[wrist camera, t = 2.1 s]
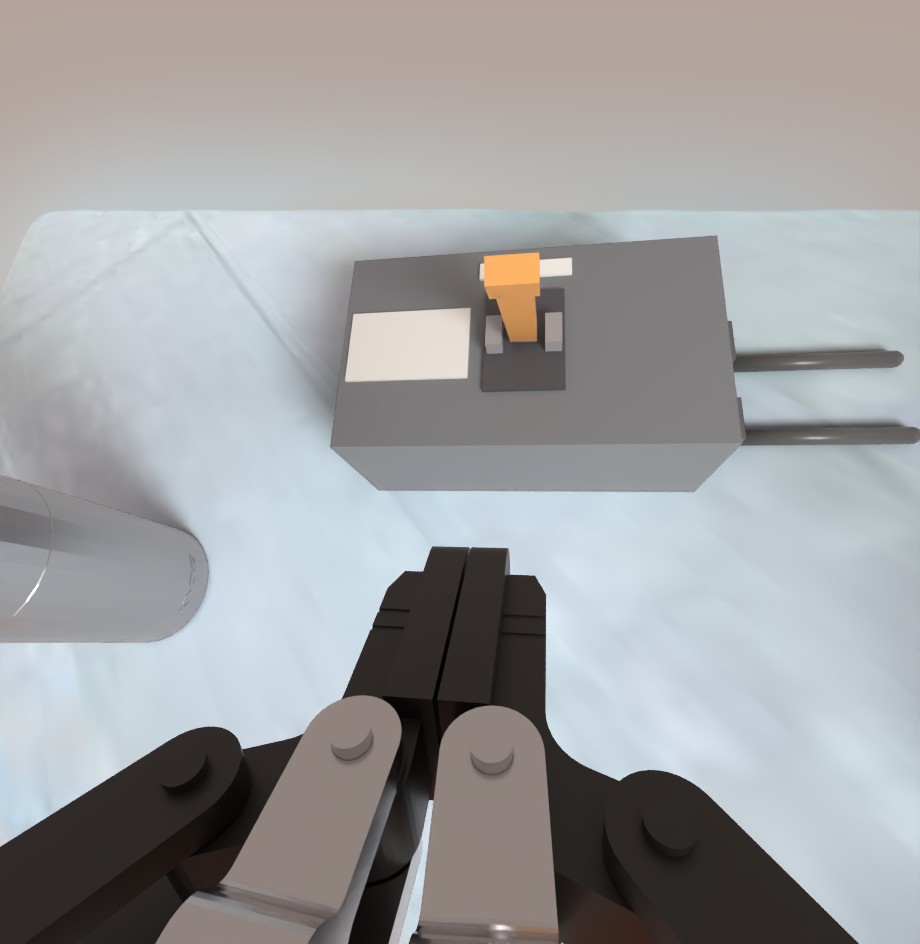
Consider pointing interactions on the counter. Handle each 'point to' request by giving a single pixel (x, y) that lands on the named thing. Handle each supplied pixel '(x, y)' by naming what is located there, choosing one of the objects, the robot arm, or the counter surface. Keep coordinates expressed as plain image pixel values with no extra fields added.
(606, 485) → the box
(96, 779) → the counter surface
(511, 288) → the breaker lever
